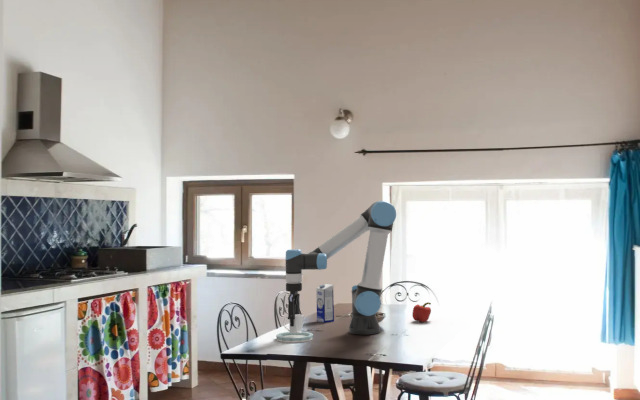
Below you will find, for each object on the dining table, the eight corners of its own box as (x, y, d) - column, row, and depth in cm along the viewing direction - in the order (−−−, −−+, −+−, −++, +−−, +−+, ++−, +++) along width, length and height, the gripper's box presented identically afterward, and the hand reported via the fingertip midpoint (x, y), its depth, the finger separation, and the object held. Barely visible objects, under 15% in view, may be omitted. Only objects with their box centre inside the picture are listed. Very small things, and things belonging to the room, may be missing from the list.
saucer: (318, 336, 308) (318, 332, 308) (303, 343, 292) (303, 339, 292) (286, 334, 314) (286, 330, 314) (270, 341, 299) (270, 337, 299)
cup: (302, 334, 299) (302, 316, 299) (281, 333, 301) (281, 315, 301) (306, 331, 305) (306, 314, 306) (285, 330, 308) (285, 313, 308)
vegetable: (427, 319, 353) (426, 301, 353) (436, 322, 343) (435, 303, 343) (408, 320, 349) (408, 302, 350) (417, 323, 340) (417, 304, 340)
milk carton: (334, 321, 351) (333, 284, 352) (324, 322, 347) (323, 285, 348) (326, 319, 357) (326, 283, 358) (316, 321, 353) (315, 284, 354)
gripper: (290, 280, 314) (291, 328, 314) (280, 284, 295) (281, 335, 294) (305, 280, 313) (306, 328, 312) (297, 284, 293) (297, 335, 293)
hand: (294, 331), depth 303 cm, fingers closed on cup, 7 cm apart
